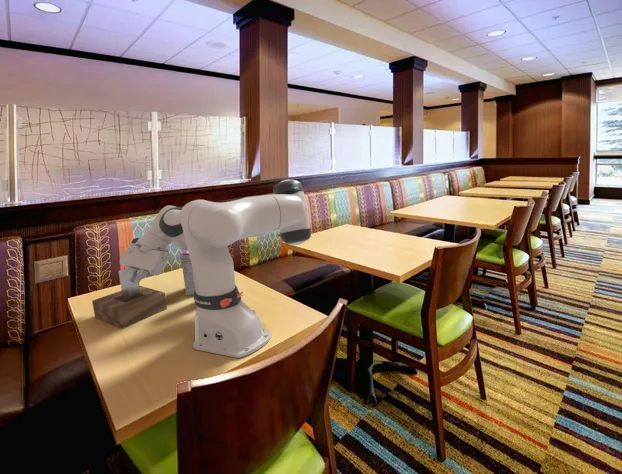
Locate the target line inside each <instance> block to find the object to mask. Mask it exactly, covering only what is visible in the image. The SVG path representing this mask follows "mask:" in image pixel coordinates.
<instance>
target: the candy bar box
mask: <svg viewBox="0 0 622 474" xmlns="http://www.w3.org/2000/svg"><path fill="white" fill-rule="evenodd" d="M180 259H181V260H180V261H181V269H182V274H183V281H184V289H185V295H186V296H194V291H195V285H194V277H193V269H192V263H191V259H190V256H189V252H188V250H184V251H182V252H181V253H180Z"/></svg>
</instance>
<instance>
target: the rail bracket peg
mask: <svg viewBox="0 0 622 474" xmlns="http://www.w3.org/2000/svg"><path fill="white" fill-rule="evenodd" d="M137 275H138V270H137V269H134V268H127V267H125V268H124V269H121V270H118V276H119V277H118V278H119V283H120V288H121V290H122V295H123V299H125V300H127V301H130V300H133V299H135V298H138V297H141V294H140V287H139V286H140V283H139V284H137V283H134V282H133V281H132V280H133V279H134V277H136V276H137ZM121 290H120V291H121Z"/></svg>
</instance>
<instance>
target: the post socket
mask: <svg viewBox="0 0 622 474" xmlns="http://www.w3.org/2000/svg"><path fill="white" fill-rule="evenodd" d="M139 287H140V294H141V297H138V298H135V299H133V300H130V301H127V300H125V299H123V295H122V290H119V291H116V292H113V293H110V294H107V295H105V296H102V297H101V296H100V297H99V298H96V299H93V300H91V302H92V308H93V313H94V314H93V315H94V318H95V319H98V320H100V321H103V322H105V323H108V324H111V325H112V326H116V327H118V328H120V329H125V328H128V327H130V326H132V325H134V324H136V323H139V322H140V321H143V320H145V319H148V318H150V317H152V316H154V315H157V314H159V313H161V312H163V311H165V310H167V309H168V307H167V306H168V305H167V299H166V298H167V297H166V292H164V291H160V290H156V289H153V288H149V287H146V286H143V285H139Z"/></svg>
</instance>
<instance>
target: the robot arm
mask: <svg viewBox="0 0 622 474" xmlns="http://www.w3.org/2000/svg"><path fill="white" fill-rule="evenodd" d="M302 184H303V183H301V182H300V181H298V180H297V179H289V178H288V179H283V180H281V181H280V182H278V183H275V185H274V187H273V189H272V191H273V192H272V194H271V193H270V194H264V195H263V194H262V195H253V196H246V197H243V198H240V199H235V200H231V201H226V202H225V201H223V202H215V201H210V200H205V199H195V200H191V201H190V202H187V203H185V204H184V205H183V206H181V207H180V206H175V205H165V206H164V207H163V208H161V210H159V211H158V213H157V214H156V215H155V217H154V218H153V220H152V222H151V223H150V227H149V229H148V230H146V231H145V232H144V234H143V235H140V236H138V237H133V238H132V239H130V242H129V246H127V247H126V249H125V250H124V252H123V253H122V255H121V257H120V258H119V264H120V265H121V266H123V267H125V268H134V269H137V271H139V273H137V276H136V277H134V279H133V280H132V281H133V282H134V283H137V284H139V285H140V283H141V281H142V280H143V279H144V278H146V277H147V275H148V274H150V275H153V276H159V275H161V274H162V272H163V270H164V268H165V267H166V265H167V262H168V259H169V255H170V251H169V249H168V247H169V245H170V244H173V245H175V246H176V247H178V248H180V249H181V250H184V251H185V250H188V252H189V256H190V259H191V263H192V269H193V277H194V285H195V291H194V295H193V300H194V305H195V306H196V313H195V316H194V333H195V334H194V342H193V345H192V347H193V349H194V350H197V351H202V352H206V353H212V354H217V355H222V356H226V357H232V358H235V359H236V358H239V359H240V358H243V357H247V356H249V355H251V354H253V353H254V352H257V351H258V350H259V349H261V348H262V347H264V346H265V345H266V344H268V342H269V341H270V340H271V337H272V333H271V331H269V330H267V329H265V328H264V327H263V326H262V320H261V318H260V316H259V315H257V313H256V311H255V309H251V308H250V307H249V306H248V305H247V304H246V303H245V302H244V301H243V300H242V297H243V296H244V292H243V291H241V292H240V291H239V288H238V286H237V285H236V279H235V278H236V277H235V269H234V268H235V266H234V260H233V258H232V255H231V254H230V251H229V248H228V246H230V245H232V244H234V243H235V242H236V241H240V240H242V239H245V238H256V237H260V236H266V235H269V234H273V233H275V232H276V233H277V232H279V234H277V236H278V237H280V239H281V241H282V242H283V243H285V244H287V245H291V246H298V245H302V244H304V243H306V242H307V241H309V240H310V238H311V237H312V227H311V225H310V223H311V222H310V221H311V220H310V214H309V207H308V202H307V199H306V194H305V189H304V187H303V185H302Z"/></svg>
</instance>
